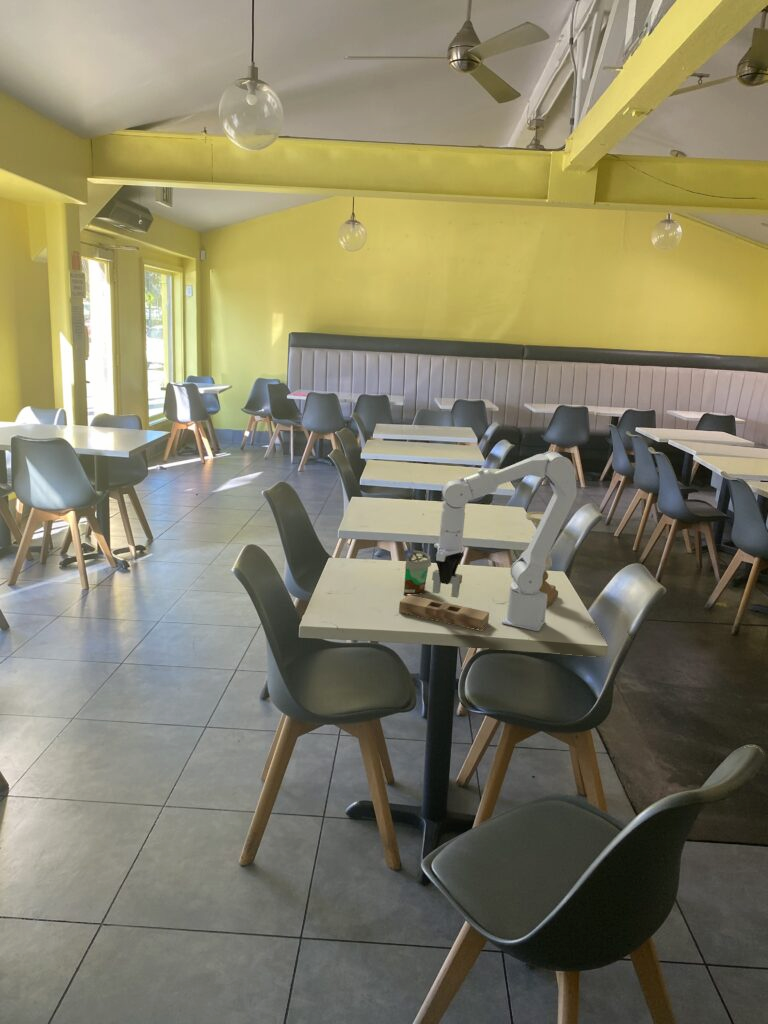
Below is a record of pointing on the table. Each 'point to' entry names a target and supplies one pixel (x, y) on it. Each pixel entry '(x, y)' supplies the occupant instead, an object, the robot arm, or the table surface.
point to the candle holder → (546, 587)
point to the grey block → (455, 581)
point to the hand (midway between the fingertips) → (446, 581)
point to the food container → (416, 572)
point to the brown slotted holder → (444, 612)
